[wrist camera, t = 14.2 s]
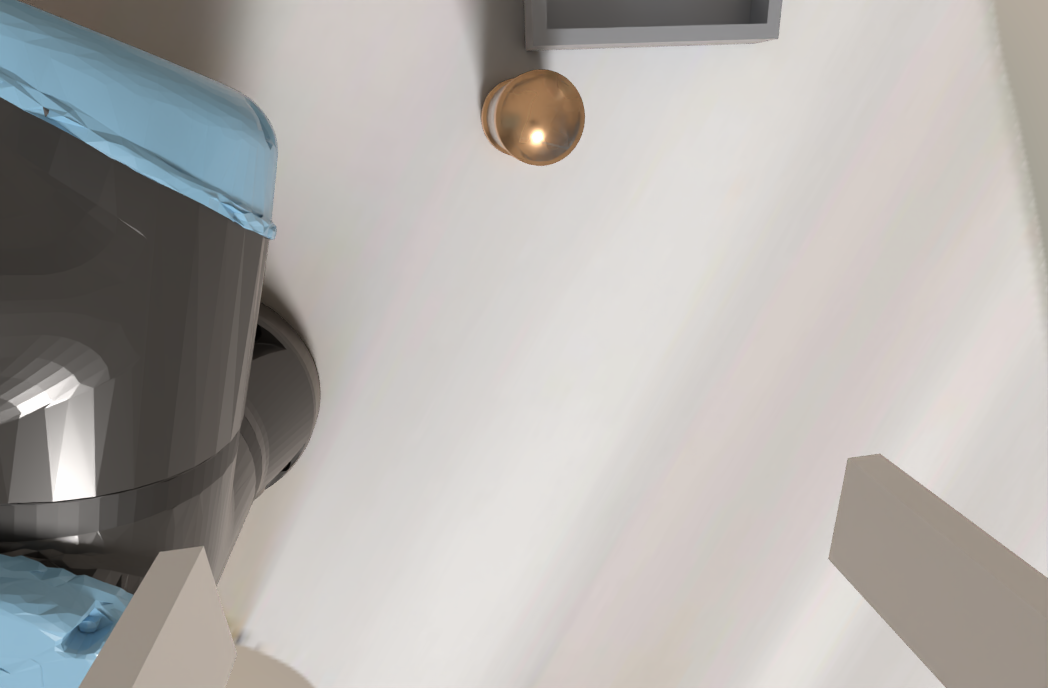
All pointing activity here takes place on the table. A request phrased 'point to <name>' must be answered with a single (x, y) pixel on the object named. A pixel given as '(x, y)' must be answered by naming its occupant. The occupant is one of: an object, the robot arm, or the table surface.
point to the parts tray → (648, 23)
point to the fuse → (534, 117)
